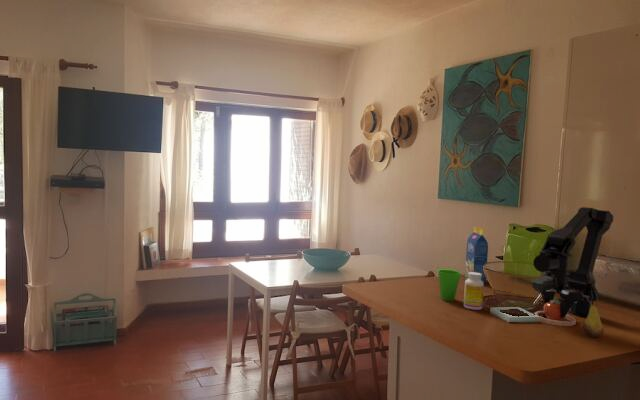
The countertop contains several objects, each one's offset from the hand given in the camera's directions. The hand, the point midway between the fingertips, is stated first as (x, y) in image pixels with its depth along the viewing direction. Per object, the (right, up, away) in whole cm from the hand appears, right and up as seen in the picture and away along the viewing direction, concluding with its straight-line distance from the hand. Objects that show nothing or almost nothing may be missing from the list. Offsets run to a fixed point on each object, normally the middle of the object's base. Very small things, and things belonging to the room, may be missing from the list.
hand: (554, 314), depth 166 cm
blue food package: (-8, +1, +60) cm, 60 cm away
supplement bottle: (-25, 0, +11) cm, 27 cm away
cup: (-31, 0, +22) cm, 38 cm away
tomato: (0, -2, 0) cm, 2 cm away
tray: (-14, -1, +1) cm, 14 cm away
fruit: (+4, -3, -16) cm, 17 cm away
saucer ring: (0, -2, 0) cm, 2 cm away
